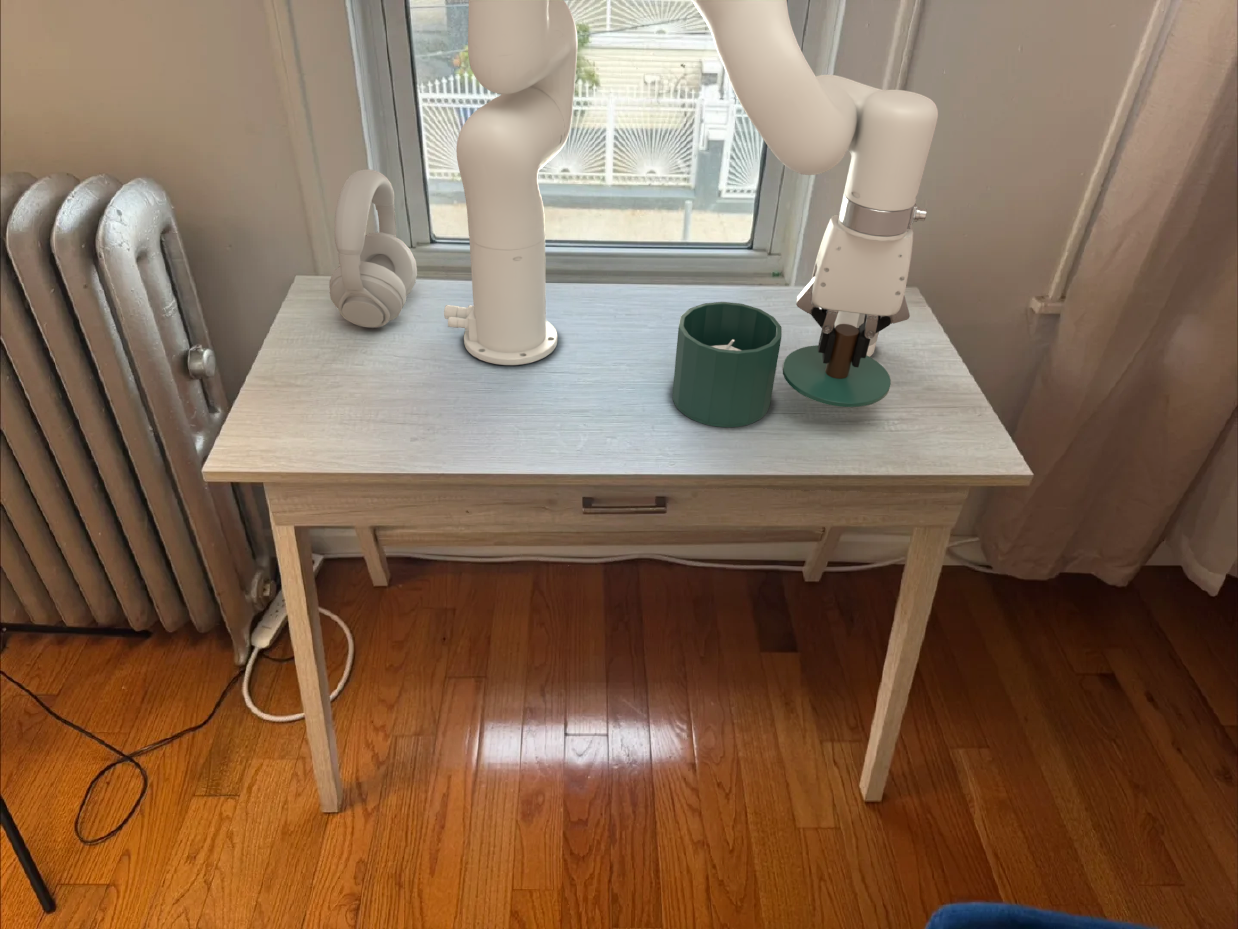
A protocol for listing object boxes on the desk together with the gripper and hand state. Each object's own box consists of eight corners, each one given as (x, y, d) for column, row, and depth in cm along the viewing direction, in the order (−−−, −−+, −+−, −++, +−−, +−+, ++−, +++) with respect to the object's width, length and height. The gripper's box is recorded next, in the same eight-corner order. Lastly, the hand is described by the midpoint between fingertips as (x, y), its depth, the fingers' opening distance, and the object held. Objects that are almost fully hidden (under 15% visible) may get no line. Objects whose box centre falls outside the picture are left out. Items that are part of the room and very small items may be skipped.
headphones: (398, 349, 123) (381, 204, 110) (322, 344, 123) (296, 199, 111) (429, 285, 137) (417, 151, 125) (361, 280, 137) (342, 147, 125)
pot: (668, 421, 112) (675, 346, 106) (677, 368, 122) (683, 297, 115) (768, 432, 111) (781, 357, 105) (769, 378, 121) (781, 307, 114)
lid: (781, 403, 108) (792, 351, 103) (781, 347, 118) (791, 297, 114) (893, 417, 107) (909, 365, 103) (883, 360, 117) (897, 309, 113)
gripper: (946, 208, 102) (904, 351, 113) (799, 192, 103) (772, 335, 114) (957, 236, 96) (911, 384, 107) (800, 219, 97) (771, 367, 108)
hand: (840, 358), depth 111 cm, fingers closed on lid, 2 cm apart
